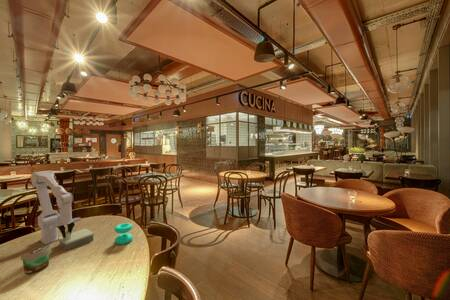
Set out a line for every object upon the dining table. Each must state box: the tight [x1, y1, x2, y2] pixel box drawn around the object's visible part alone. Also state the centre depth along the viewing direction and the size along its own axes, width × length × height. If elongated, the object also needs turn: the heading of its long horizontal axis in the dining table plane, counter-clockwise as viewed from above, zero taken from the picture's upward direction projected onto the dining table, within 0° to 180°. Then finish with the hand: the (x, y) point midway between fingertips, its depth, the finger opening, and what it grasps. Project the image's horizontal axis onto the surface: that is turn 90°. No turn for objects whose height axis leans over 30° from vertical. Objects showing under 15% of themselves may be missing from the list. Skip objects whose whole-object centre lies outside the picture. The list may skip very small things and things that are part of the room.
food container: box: [20, 243, 52, 275], centre depth 101 cm, size 12×6×10 cm, turn 168°
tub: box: [58, 235, 94, 251], centre depth 127 cm, size 11×14×4 cm
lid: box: [57, 228, 95, 245], centre depth 127 cm, size 12×15×6 cm
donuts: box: [114, 222, 134, 245], centre depth 128 cm, size 10×10×10 cm
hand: (66, 236), depth 122 cm, fingers closed on lid
